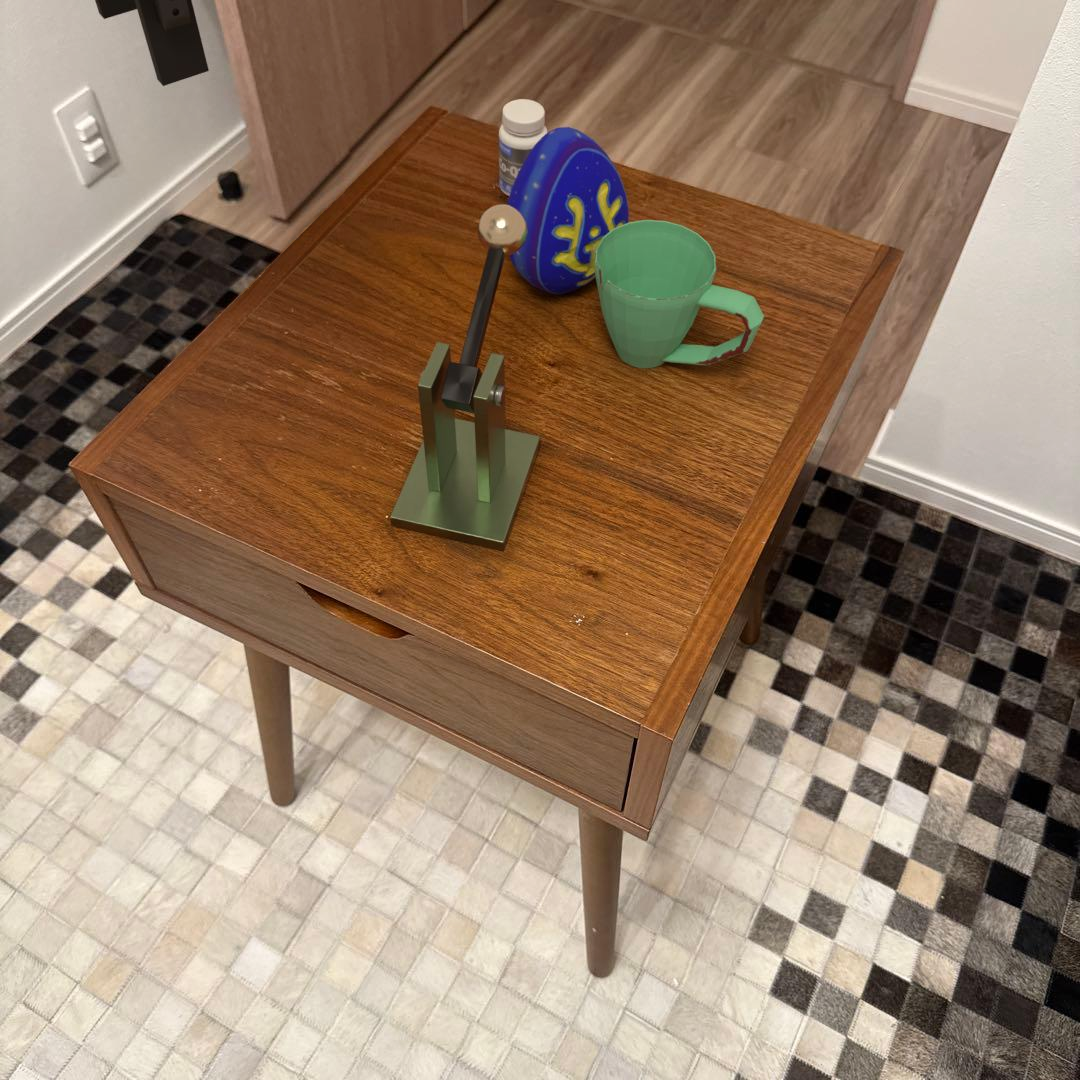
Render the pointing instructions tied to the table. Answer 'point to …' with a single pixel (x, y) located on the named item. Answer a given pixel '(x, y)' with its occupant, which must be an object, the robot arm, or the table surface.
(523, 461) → the bracket
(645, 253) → the mug
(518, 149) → the pill bottle
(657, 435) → the table surface
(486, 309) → the lever
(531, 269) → the ornament
